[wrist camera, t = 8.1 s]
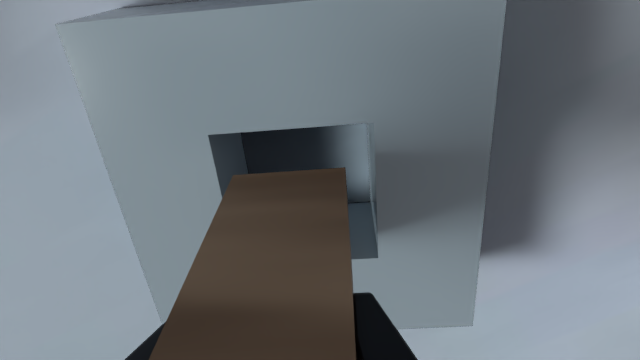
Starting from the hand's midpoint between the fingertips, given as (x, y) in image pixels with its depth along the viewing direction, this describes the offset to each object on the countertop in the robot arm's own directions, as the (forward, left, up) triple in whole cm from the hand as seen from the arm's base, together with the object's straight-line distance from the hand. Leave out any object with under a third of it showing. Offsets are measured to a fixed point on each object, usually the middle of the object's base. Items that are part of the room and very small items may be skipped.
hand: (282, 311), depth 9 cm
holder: (0, 0, -8) cm, 8 cm away
